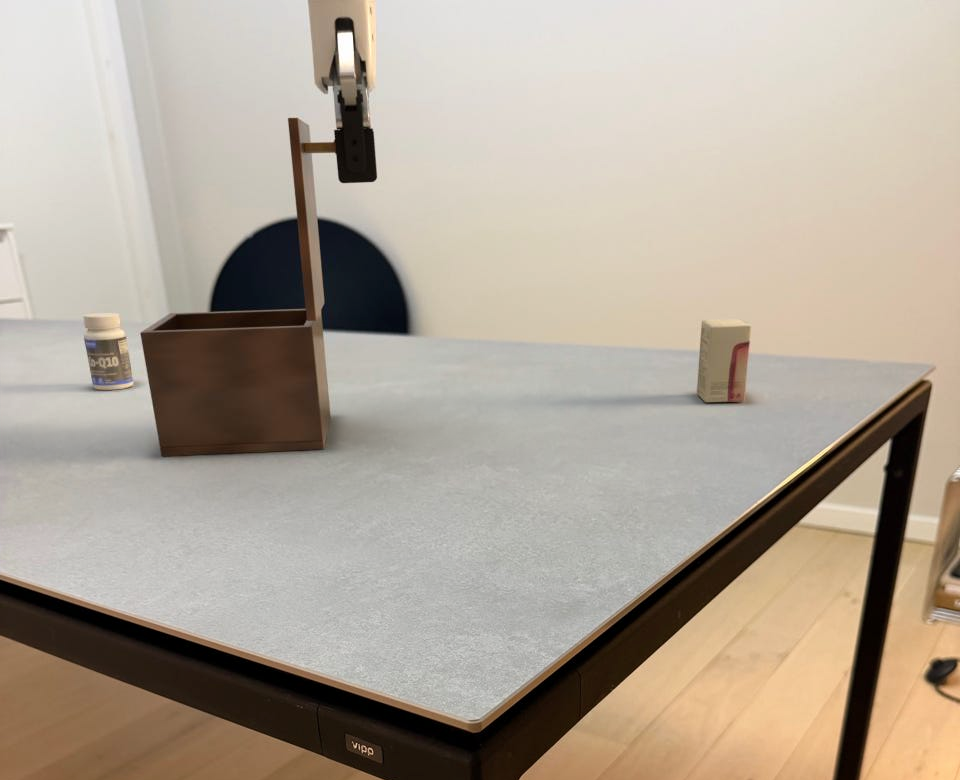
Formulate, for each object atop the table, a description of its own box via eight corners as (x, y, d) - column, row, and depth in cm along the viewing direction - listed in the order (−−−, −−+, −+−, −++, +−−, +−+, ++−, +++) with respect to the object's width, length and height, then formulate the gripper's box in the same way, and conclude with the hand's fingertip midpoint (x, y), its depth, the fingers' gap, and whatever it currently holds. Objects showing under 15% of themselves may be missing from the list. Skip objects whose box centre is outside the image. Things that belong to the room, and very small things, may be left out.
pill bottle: (87, 390, 114) (72, 317, 110) (102, 382, 118) (88, 311, 114) (126, 390, 113) (112, 316, 110) (140, 382, 118) (127, 311, 114)
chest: (161, 456, 86) (139, 332, 81) (187, 423, 97) (169, 313, 92) (323, 449, 87) (312, 326, 82) (330, 418, 98) (320, 308, 93)
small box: (745, 403, 100) (753, 325, 97) (704, 403, 101) (710, 325, 97) (734, 393, 105) (741, 318, 101) (695, 393, 105) (701, 319, 102)
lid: (287, 117, 75) (351, 116, 76) (300, 125, 86) (355, 124, 87) (306, 321, 82) (365, 319, 82) (316, 303, 93) (367, 302, 94)
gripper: (298, -50, 83) (321, 182, 91) (279, -99, 67) (308, 185, 75) (385, -52, 83) (400, 179, 91) (385, -101, 68) (403, 181, 76)
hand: (358, 179), depth 83 cm, fingers closed on lid, 5 cm apart
